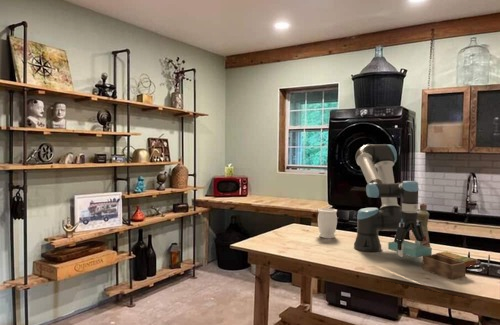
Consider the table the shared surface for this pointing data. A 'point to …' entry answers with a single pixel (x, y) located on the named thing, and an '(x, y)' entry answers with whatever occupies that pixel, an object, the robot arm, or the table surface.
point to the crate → (444, 266)
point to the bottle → (424, 224)
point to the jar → (327, 222)
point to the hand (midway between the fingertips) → (409, 254)
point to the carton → (458, 258)
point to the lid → (411, 249)
